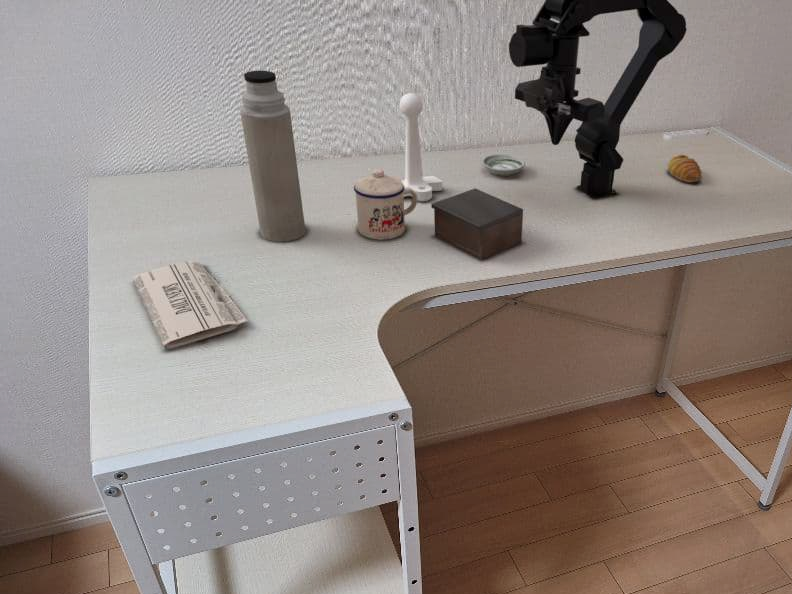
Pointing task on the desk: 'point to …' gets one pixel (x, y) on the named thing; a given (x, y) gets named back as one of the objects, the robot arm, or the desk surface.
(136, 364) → the desk surface
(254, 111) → the thermos bottle
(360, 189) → the teacup with lid
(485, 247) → the wooden box
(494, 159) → the saucer
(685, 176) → the pastry
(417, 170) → the joystick
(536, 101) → the robot arm
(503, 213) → the dark grey flat tile
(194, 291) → the newspaper
